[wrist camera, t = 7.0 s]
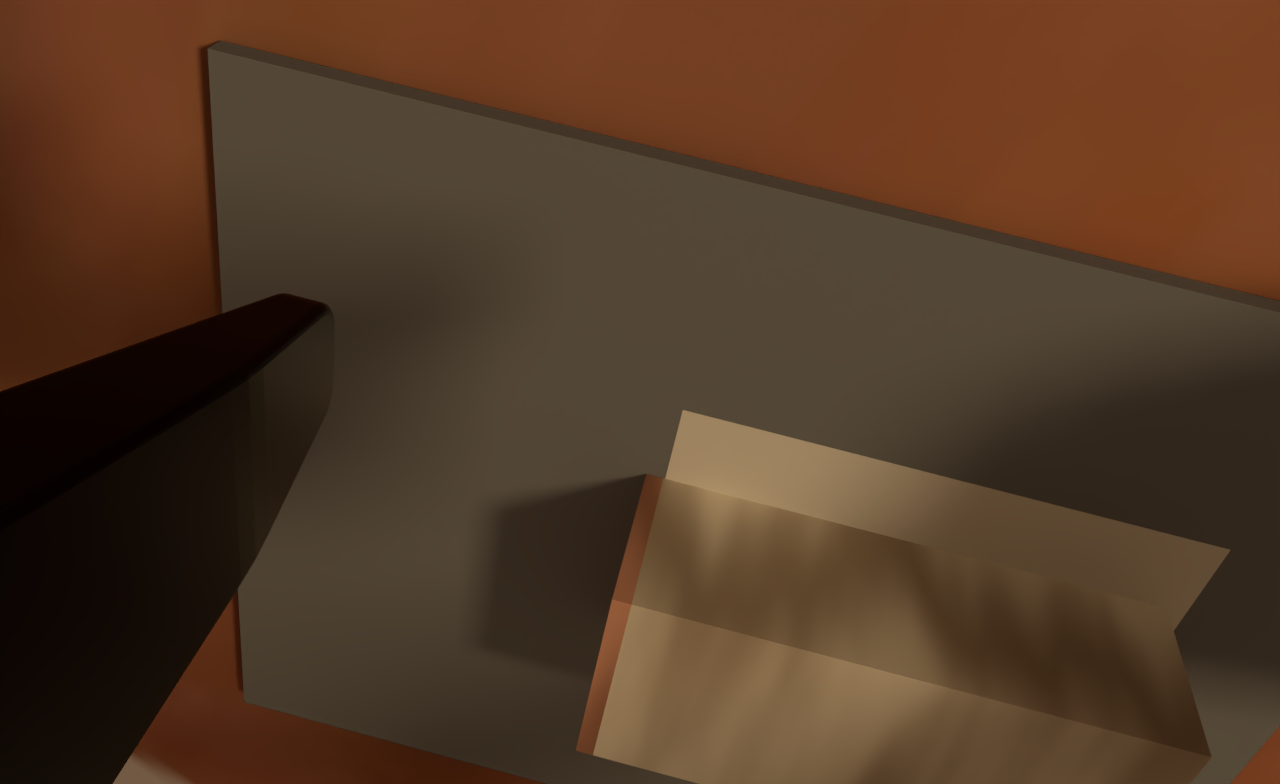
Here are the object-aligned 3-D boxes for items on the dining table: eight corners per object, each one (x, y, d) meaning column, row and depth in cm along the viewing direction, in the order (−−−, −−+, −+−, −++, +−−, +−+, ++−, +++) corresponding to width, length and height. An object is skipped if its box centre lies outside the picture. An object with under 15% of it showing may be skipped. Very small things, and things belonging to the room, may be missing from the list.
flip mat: (1557, 369, 20) (1571, 384, 20) (1098, 917, 32) (1101, 934, 31) (220, 40, 21) (207, 48, 21) (251, 688, 33) (243, 702, 32)
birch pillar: (646, 474, 25) (1166, 608, 24) (610, 620, 28) (1074, 743, 27) (611, 599, 21) (1212, 757, 21) (575, 750, 24) (1101, 891, 24)
